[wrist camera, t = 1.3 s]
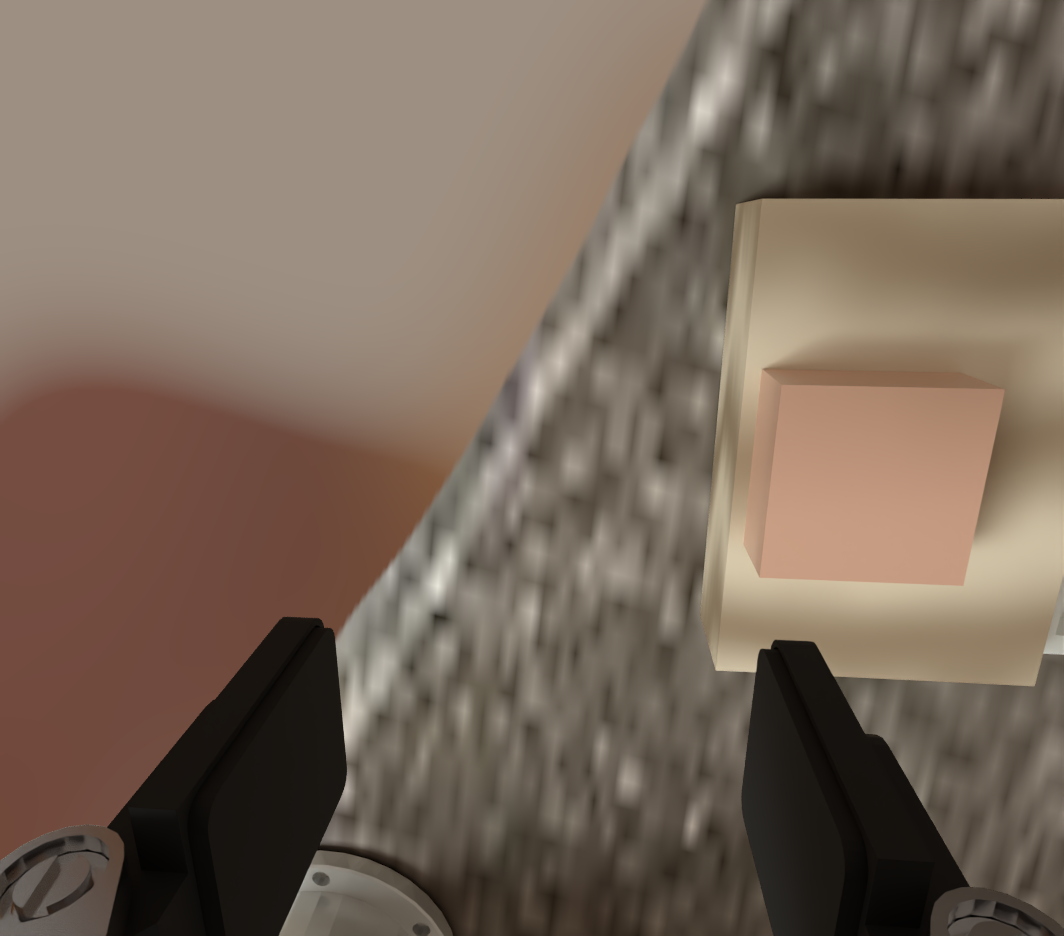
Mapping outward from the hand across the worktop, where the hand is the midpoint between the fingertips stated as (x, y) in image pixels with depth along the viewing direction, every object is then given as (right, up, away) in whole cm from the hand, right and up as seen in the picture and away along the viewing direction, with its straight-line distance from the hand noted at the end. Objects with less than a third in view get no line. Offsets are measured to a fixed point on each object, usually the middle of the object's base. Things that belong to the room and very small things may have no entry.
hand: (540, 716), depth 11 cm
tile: (+10, +4, +12) cm, 16 cm away
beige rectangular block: (+12, +5, +16) cm, 21 cm away
